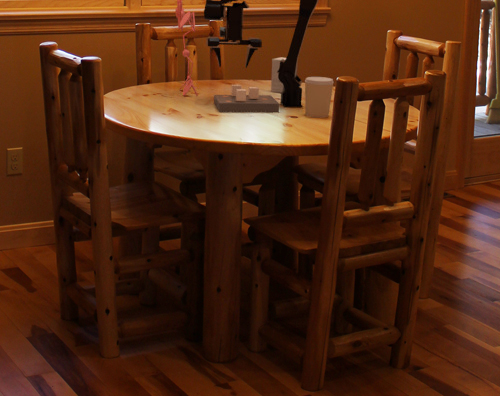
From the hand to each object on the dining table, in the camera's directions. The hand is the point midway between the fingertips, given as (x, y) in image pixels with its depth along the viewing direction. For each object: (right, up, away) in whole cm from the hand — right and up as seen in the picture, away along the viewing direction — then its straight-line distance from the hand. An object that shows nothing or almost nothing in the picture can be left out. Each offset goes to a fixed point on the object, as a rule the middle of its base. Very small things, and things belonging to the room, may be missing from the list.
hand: (233, 67), depth 247 cm
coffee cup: (+28, -19, -13) cm, 36 cm away
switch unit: (+4, -15, -6) cm, 17 cm away
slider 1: (+1, -10, -4) cm, 11 cm away
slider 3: (+7, -12, -7) cm, 15 cm away
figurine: (-21, -7, +15) cm, 26 cm away
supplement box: (+19, -5, +27) cm, 33 cm away
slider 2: (+3, -13, -12) cm, 18 cm away
